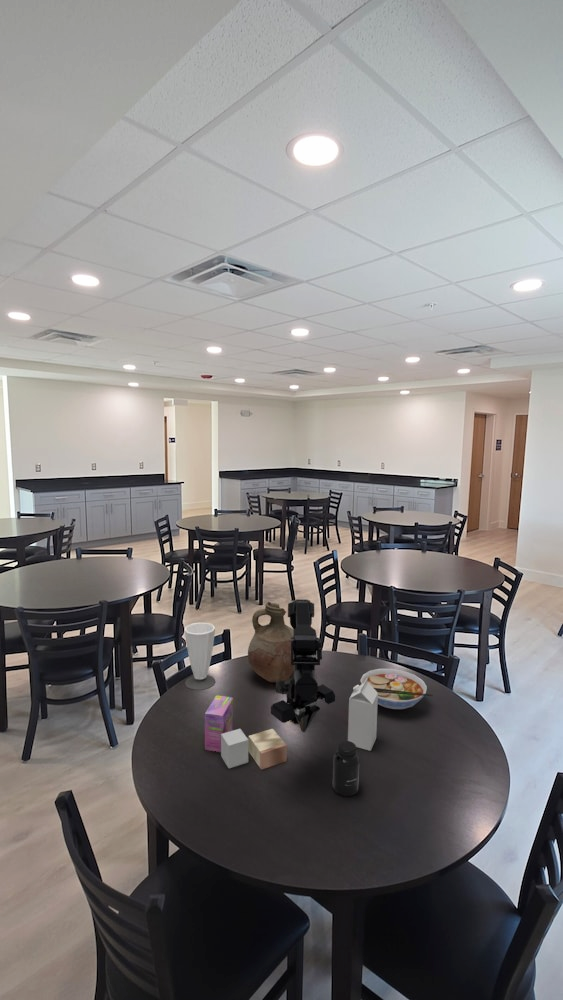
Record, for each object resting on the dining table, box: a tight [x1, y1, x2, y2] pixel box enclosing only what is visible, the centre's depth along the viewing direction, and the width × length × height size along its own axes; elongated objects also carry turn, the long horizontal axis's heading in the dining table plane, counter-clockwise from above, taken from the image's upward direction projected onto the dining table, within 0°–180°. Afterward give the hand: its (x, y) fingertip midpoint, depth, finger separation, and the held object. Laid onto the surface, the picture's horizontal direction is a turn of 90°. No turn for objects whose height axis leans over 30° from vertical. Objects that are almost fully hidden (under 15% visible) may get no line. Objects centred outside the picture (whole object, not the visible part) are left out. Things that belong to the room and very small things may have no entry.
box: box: [204, 695, 234, 753], centre depth 146 cm, size 10×6×12 cm, turn 168°
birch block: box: [247, 728, 288, 770], centre depth 140 cm, size 8×5×9 cm
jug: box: [247, 601, 294, 683], centre depth 184 cm, size 22×22×30 cm
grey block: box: [220, 728, 249, 769], centre depth 138 cm, size 6×6×7 cm
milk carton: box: [347, 678, 379, 752], centre depth 146 cm, size 7×7×19 cm
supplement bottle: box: [332, 740, 360, 797], centre depth 127 cm, size 7×7×12 cm
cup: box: [184, 621, 216, 691], centre depth 181 cm, size 12×12×22 cm
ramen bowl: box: [359, 668, 432, 710], centre depth 169 cm, size 25×23×8 cm
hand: (303, 731), depth 132 cm, fingers closed
